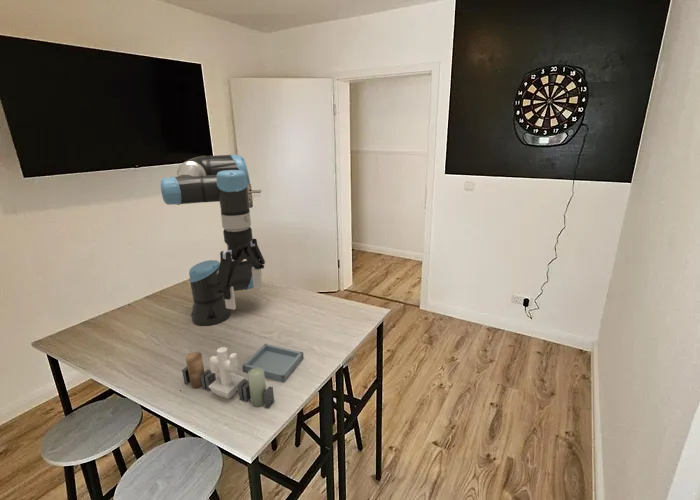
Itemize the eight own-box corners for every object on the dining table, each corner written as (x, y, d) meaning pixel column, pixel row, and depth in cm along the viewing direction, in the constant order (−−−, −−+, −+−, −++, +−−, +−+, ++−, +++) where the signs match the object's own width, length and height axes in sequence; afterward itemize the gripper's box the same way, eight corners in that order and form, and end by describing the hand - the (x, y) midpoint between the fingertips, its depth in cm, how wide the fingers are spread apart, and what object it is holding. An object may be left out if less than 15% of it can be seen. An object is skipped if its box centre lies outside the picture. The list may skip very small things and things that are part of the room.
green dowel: (248, 404, 104) (244, 375, 100) (257, 394, 108) (253, 366, 104) (261, 408, 102) (258, 379, 99) (270, 398, 106) (267, 369, 103)
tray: (243, 371, 118) (242, 365, 117) (265, 349, 129) (265, 343, 128) (283, 382, 112) (283, 375, 112) (303, 358, 124) (303, 352, 123)
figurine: (223, 380, 114) (217, 339, 109) (248, 388, 110) (243, 346, 105) (206, 395, 107) (199, 352, 102) (232, 404, 104) (226, 360, 99)
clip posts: (184, 383, 112) (181, 370, 111) (191, 377, 115) (189, 364, 113) (268, 408, 102) (267, 394, 101) (274, 401, 105) (272, 387, 103)
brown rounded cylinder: (187, 386, 111) (182, 358, 108) (198, 377, 115) (193, 350, 112) (199, 390, 110) (194, 362, 106) (209, 380, 114) (204, 353, 110)
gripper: (219, 242, 88) (229, 320, 95) (272, 218, 110) (277, 283, 117) (194, 239, 90) (205, 315, 97) (251, 216, 112) (257, 280, 119)
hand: (245, 298), depth 107 cm, fingers open, 13 cm apart
